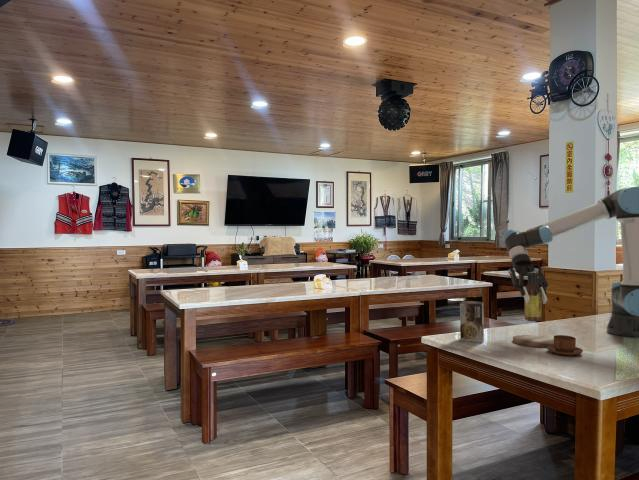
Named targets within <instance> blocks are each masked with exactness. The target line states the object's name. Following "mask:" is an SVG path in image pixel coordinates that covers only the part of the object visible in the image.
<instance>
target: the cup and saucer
mask: <svg viewBox="0 0 639 480" xmlns="http://www.w3.org/2000/svg"><path fill="white" fill-rule="evenodd" d="M553 339H554V345H549V346H547V348H546V349H547V350H548V351H549V352H550V353H553V354H556V355H561V356H578V355H581V354H582V353H583V351H584V350H583V349H582V348H580V347H577V346H576V345H577V344H576V341H577V340H576V337H575V336H572V335H562V334H561V335H560V334H557V335H553Z"/></svg>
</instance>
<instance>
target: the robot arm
mask: <svg viewBox="0 0 639 480" xmlns="http://www.w3.org/2000/svg"><path fill="white" fill-rule="evenodd" d="M612 218H615V219H616V221H617V222H619V224H620V236H621V251H622V252H621V253H622V270H623V280H622V281H617V282H616V281H615V282H613V283H612V284H611V288H610V291H611V295H610V296H611V300H610V301H611V302H610V303H611V307H610V308H611V309H610V312H611V314H610V318H609V320H608V323H607V326H606V332H607V333H608V334H611V335H616V336H622V337H634V338H636V337H637V338H639V185H630V186H629V185H628V186H626V187H624V188H620V189H617V190H615V191H614V192H612V193H610V194H609V195H608V194H607V196H604V197H603V198H600V199H598V200H596V203H593V204H591V205H589V206H586V207H583V208H580V209H578V210H575V211H573V212H571V213H569V214H566V215H562V216H560V217H557V218H555V219H553V220H550V221H548V222H545V223H542V224H540V225H538V226H537V225H536V226H535V227H532V228H528V229H527V230H526V231H521V232H520V231H519V230H518V229H515V228H514V229H513V228H511V229H508V230H507V231H505V232H504V233H503V242H504V245H505V248H506V250H507V252H508V255H509V258H510V261H511V264H512V266H513V267H511V266H510V267H509V269H508V274H509V275H510V278H511V283H512V286H513V289H515V290H517V291H518V292H519V293H520V295H521V296H522V297H523V298H524V299H525V300H524V302H525V301H526V303H529V301H530V298H529V295H528V292H527V290H526V286H524V277H526V278H528V276H527V272H538V276H537V278H538V279H537V281H538V285H539V288H540V290H541V302H542V304H547V302H548V298H547V291H546V290H547V288H548V287H549V283H548V281H547V278H546V277H545V274H544V273H543V271H542V268H541V267H538V268H536V267H535V266H534V265H533V261H532V260H531V257H530V255H529V252H528V250H527V249H529V248H533V247H536V246H537V247H538V246H541V245H546V244H548V243H551V242H553V240H554V239H553V238H555V237H559V236H561V235H563V234H566V233H569V232H571V231H575V230H577V229H580V228H582V227H586V226H587V225H590V224H593V223H595V222H598V221H601V220H603V219H606V220H610V219H612ZM516 273H517V274H516ZM517 275H518V277H517Z"/></svg>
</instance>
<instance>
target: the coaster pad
mask: <svg viewBox="0 0 639 480" xmlns="http://www.w3.org/2000/svg"><path fill="white" fill-rule="evenodd" d="M512 342H513V343H514V344H515V345H518V346H519V345H520V346H524V347H530V348H542V349H543V348H546V349H547V346H549V345H554V338H551V337H548V336H542V335H534V334H521V335H514V336H513V337H512Z"/></svg>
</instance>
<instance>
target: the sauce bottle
mask: <svg viewBox="0 0 639 480" xmlns="http://www.w3.org/2000/svg"><path fill="white" fill-rule="evenodd" d="M527 276H528V277H527ZM527 276H526V277H527V284H526V285H525V287H526V290H527V292H528V295H529V298H530V301H529V303H526V301H525V299H524V319H525V320H526V321H527V322H540V321H542V299H541V290H540V288H539V285H538V281H537V279H538V278H537V277H538V272H535V271H534V272H527Z"/></svg>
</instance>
